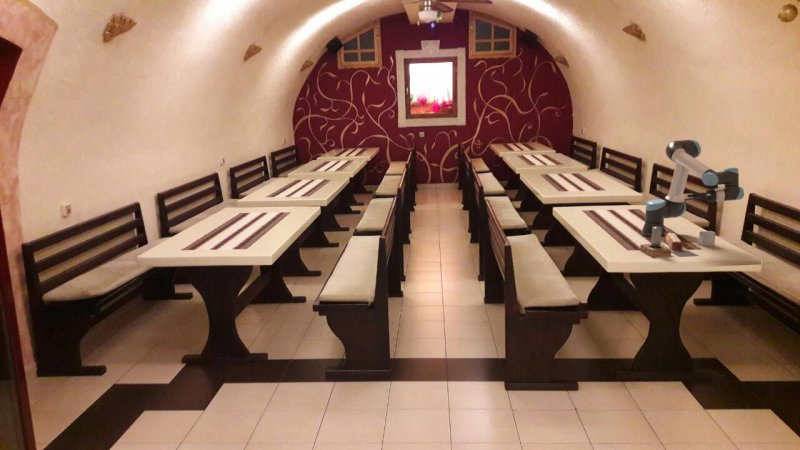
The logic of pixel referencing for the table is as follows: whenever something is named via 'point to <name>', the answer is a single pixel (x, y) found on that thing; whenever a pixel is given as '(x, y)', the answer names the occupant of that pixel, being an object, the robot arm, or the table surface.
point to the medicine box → (707, 238)
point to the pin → (656, 237)
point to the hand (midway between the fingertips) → (677, 197)
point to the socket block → (655, 250)
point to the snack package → (673, 241)
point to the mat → (683, 253)
